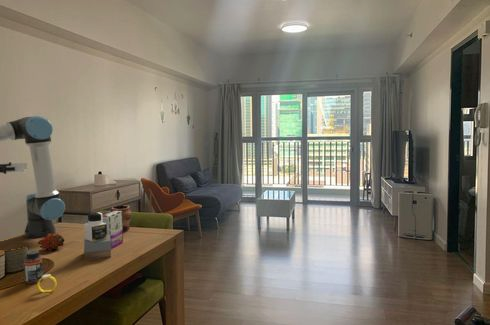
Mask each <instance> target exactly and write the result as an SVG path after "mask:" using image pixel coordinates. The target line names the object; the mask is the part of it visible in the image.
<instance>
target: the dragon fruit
mask: <svg viewBox="0 0 490 325" xmlns="http://www.w3.org/2000/svg"><path fill="white" fill-rule="evenodd" d="M64 242H65V238H64V237H63V236H62V235H61V234H59V233H57V232H56V233H54V234H47V236H44V238H43V237H42V239H39V240H38V241H37V245H40V247H39V248H41V249H42V250H44V249H46V250H48V251H49V252H50V251H53V250H58V249H59V248H60V247H63V246H65V243H64Z"/></svg>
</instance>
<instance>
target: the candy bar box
mask: <svg viewBox="0 0 490 325" xmlns="http://www.w3.org/2000/svg"><path fill="white" fill-rule="evenodd" d="M102 219H103V221H102V222H103V223H106V224H107V235H110V239H111V250H112V249H114V248H116V247H118V246H119V245H121V244H124V233H123V232H124V231H123V228H122V211H112V212H108V213H105V214H102Z"/></svg>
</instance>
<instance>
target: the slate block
mask: <svg viewBox="0 0 490 325" xmlns="http://www.w3.org/2000/svg"><path fill="white" fill-rule="evenodd" d="M83 245H84V246H83V253H84V252H85V253H87V252H95V251H103V250H111V251H112V249H111V239H110V235H107V239H103V240H99V241H94V242H91V241H89V240H86V239H85V236H84V239H83Z"/></svg>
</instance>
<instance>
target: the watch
mask: <svg viewBox="0 0 490 325" xmlns="http://www.w3.org/2000/svg"><path fill="white" fill-rule="evenodd" d="M42 279H43V280H47V279H50V280H52V281H53V284H54V286H53V288H52V289H46V290H44V289H42V287H41V282H42V281H43V280H42ZM41 280H42V281H41ZM36 284H37V285H36V288H37V290H38V291H39V292H40V293H43V294H44V293H52V292H54V290H55V289H56V288H57V284H58V283H57V279H56V278H55V277H54V276H52V274H50V273H49V274H43V276H42V278H41V279H40V280H39V281H38V283H36Z"/></svg>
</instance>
